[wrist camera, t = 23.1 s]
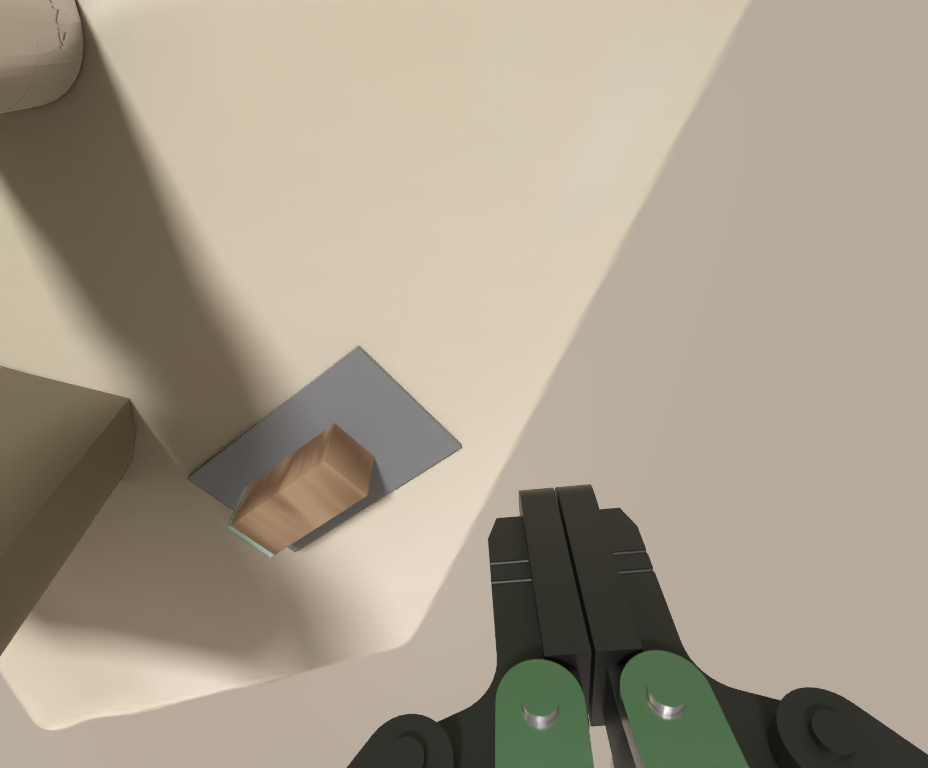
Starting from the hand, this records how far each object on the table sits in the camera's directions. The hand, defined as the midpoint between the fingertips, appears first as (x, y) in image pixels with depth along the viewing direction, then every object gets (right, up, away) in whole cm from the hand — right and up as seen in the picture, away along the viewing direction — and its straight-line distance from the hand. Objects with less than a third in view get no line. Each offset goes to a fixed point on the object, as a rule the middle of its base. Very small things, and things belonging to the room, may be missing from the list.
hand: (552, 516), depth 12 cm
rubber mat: (-14, -4, +34) cm, 37 cm away
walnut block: (-11, -3, +31) cm, 33 cm away
